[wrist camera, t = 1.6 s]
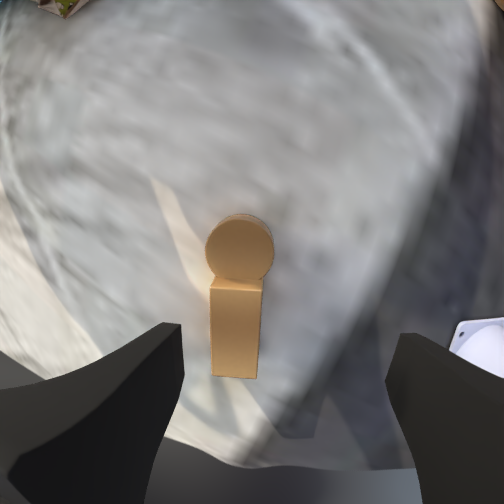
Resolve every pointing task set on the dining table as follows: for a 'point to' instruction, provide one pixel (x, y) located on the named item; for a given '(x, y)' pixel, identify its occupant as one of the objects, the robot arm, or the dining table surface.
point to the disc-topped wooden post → (237, 293)
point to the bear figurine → (61, 6)
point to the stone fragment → (500, 3)
